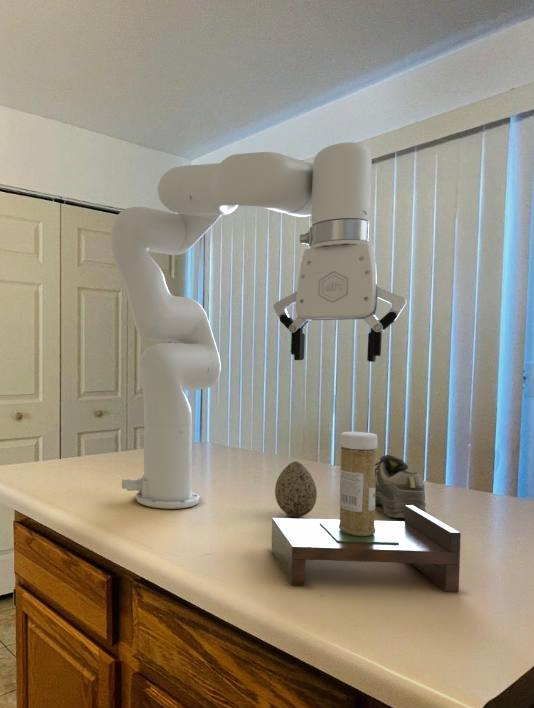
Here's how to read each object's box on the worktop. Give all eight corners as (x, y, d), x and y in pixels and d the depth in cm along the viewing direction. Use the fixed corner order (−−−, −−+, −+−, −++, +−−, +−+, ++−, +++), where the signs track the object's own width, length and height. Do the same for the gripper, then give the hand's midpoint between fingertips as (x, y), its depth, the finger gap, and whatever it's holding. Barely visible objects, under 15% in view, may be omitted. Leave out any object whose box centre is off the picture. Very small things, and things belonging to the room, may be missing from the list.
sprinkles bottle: (383, 535, 69) (385, 434, 68) (353, 538, 68) (355, 436, 67) (359, 525, 73) (361, 430, 73) (330, 527, 72) (332, 431, 72)
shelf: (291, 585, 66) (292, 527, 65) (271, 550, 78) (272, 501, 77) (459, 592, 64) (461, 532, 64) (411, 555, 76) (413, 505, 76)
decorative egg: (307, 524, 90) (308, 467, 89) (268, 516, 94) (268, 462, 94) (321, 515, 95) (323, 461, 95) (283, 508, 100) (284, 456, 99)
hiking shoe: (400, 482, 111) (374, 434, 110) (453, 524, 90) (422, 465, 89) (359, 502, 112) (333, 455, 111) (403, 547, 92) (371, 489, 91)
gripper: (269, 240, 75) (265, 359, 76) (407, 226, 65) (401, 362, 67) (283, 249, 81) (279, 359, 82) (411, 237, 72) (405, 361, 73)
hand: (334, 360), depth 74 cm, fingers open, 9 cm apart
